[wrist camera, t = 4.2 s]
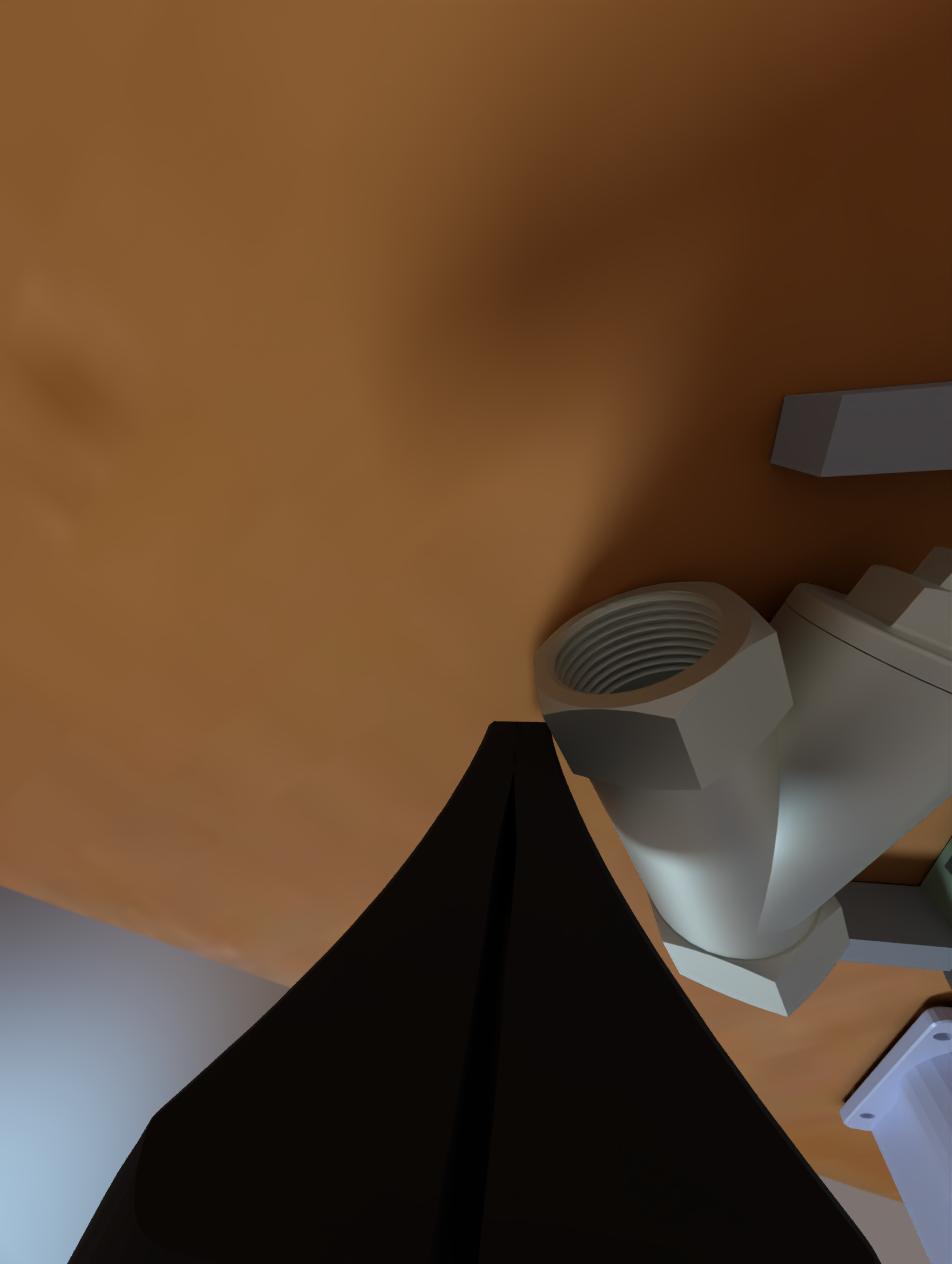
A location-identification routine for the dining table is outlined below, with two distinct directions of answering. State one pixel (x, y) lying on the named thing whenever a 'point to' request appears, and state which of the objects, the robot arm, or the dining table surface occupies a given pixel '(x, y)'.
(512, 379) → the dining table surface
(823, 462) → the grey-green knobbed block
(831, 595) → the pipe fitting
